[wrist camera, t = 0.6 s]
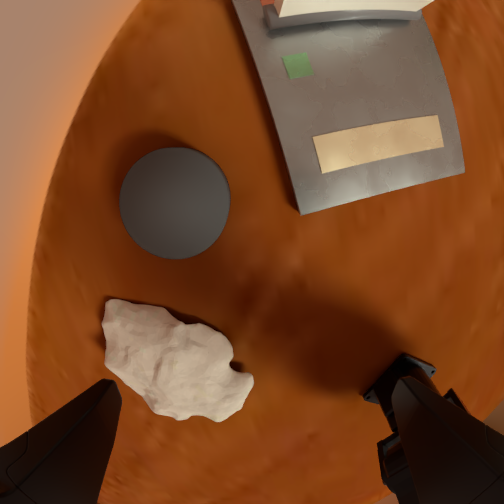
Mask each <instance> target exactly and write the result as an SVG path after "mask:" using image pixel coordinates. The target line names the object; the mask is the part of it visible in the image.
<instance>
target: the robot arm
mask: <svg viewBox="0 0 504 504" xmlns="http://www.w3.org/2000/svg"><path fill="white" fill-rule="evenodd" d="M435 372H436V368H435V367H434V366H432V365H430V364H427V363H425V362H423V361H421V360H418V359H416V358H414V357H412V356H410V355H407V354H402V355H401V356H399V358H398V359H397V360H396V361H395V362H394V363H393V364H392V365H391V367H390V368H389V369H388V370H387V371H386V372H385V373H384V374H383V375H382V376H381V377H380V378H379V379H378V380H377V382H376V383H375V384H374V385H373V386H372V387H371V388H370V389H369V390H368V391H367V392H366V393H365V394H364V395H363V398H364V400H365V401H368V402H372V403H376V404H380V406H381V409H382V411H383V413H384V415H385V416H386V418H387V421H388V423H389V425H390V428H391V430H392V432H394V433H393V434H392V435H390V436H389V437H387V438H385V439H384V440H381V441H379V442H378V443H377V447H378V457H379V463H380V470H381V477H382V482H383V484H384V485H386V486H387V487H388V488H389V489H390V490H391V491H392V492H393V493H395V494H396V496H397V499H398V501H399V504H504V435H502V434H500V433H499V432H497V431H495V430H494V429H492V428H490V427H489V426H487V425H485V424H484V423H483V422H481V421H479V420H478V419H476V418H475V417H473V416H472V415H471V414H470V412H469V411H468V409H467V408H466V406H465V405H464V403H463V402H462V401H461V399H460V398H459V397H458V395H457V394H456V393H455V392H454V390H453V389H452V388H451V389H450V390H448V391H447V393H446V394H445V395H444V396H443V397H442V396H441V394H440V393H439V391H438V390H437V388H436V387H435V385H434V384H433V382H432V380H431V379H430V378H431V377H432V376H433V375H434V373H435ZM121 406H122V397H121V394H120V392H119V389H118V387H117V384H116V382H115V381H114V380H110V379H101V380H100V381H98V382H97V383H96V384H94V385H93V386H91V387H90V388H88V389H87V390H86V391H84V392H83V393H81V394H80V395H78V396H77V397H76V398H74V399H73V400H71V401H70V402H68V403H67V404H66V405H64V406H63V407H61V408H60V409H58V410H57V411H55V412H54V413H53V414H51V415H50V416H48V417H47V418H45V419H44V420H42V421H41V422H39V423H38V424H37V425H35V426H34V427H32V428H31V429H29V430H28V431H26V432H25V433H23V434H22V435H20V436H19V437H17V438H16V439H14V440H13V441H11V442H9V443H8V444H6V445H4V446H2V447H0V504H97V500H98V496H99V493H100V489H101V485H102V482H103V478H104V475H105V471H106V468H107V465H108V461H109V458H110V455H111V451H112V448H113V445H114V441H115V436H116V431H117V426H118V421H119V416H120V411H121Z"/></svg>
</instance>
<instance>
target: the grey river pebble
mask: <svg viewBox="0 0 504 504" xmlns="http://www.w3.org/2000/svg"><path fill="white" fill-rule="evenodd" d="M119 207H120V214H121V218H122V221H123V224H124V226H125V228H126V230H127V232H128V233H129V235H130V236H131V237H132V239H133V240H134V241H135V242H136V243H137V244H138V245H139V246H140V247H142V248H143V249H144V250H146V251H148V252H149V253H151V254H153V255H156V256H159V257H162V258H167V259H184V258H189V257H192V256H195V255H197V254H199V253H201V252H203V251H204V250H206V249H207V248H209V247H210V246H211V245H212V244H213V243H214V242H215V241H216V240H217V238H218V237H219V235H220V234H221V232H222V230H223V228H224V226H225V223H226V220H227V217H228V213H229V208H230V189H229V184H228V181H227V179H226V176H225V175H224V173H223V171H222V169H221V168H220V167H219V165H218V164H217V163H216V162H215V161H214V160H213V159H211V158H210V157H209V156H207V155H206V154H204V153H202V152H200V151H197V150H194V149H191V148H184V147H175V148H163V149H159V150H155V151H153V152H151V153H148V154H147V155H145V156H143V157H142V158H140V159H139V160H138V161H137V162H136V163H135V164H134V165H133V166H132V167H131V169H130V170H129V171H128V173H127V175H126V177H125V179H124V181H123V184H122V186H121V191H120V198H119Z"/></svg>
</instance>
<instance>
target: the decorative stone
mask: <svg viewBox="0 0 504 504" xmlns="http://www.w3.org/2000/svg"><path fill="white" fill-rule="evenodd" d="M102 327H103V329H104V335H105V338H106V348H107V349H106V351H105V365H106V367H107V368H108V369H110V370H111V371H112V372H113V373H114V374H116V375H117V376H118V377H119V378H121V379H122V380H123V382H124V383H125V384H126V385H128V386H129V387H131V388H132V389H133V390H135V391H136V392H137V393H138V394H140V395H141V396H142V397H143V398H144V400H145V401H146V402H147V404H148V405H149V407H150V409H152V411H153V412H154V413H156V414H160V415H165V416H171V417H174V418H175V419H176V420H184V419H188V418H189V417H190V416H192V415H201V416H205V417H208V418H209V419H211V420H213V421H216V422H221V421H223V420H225V419H227V418H228V417H229V416H230V415H232V414H233V413H235V412H236V411H238V410H240V409H241V408H242V406H243V403H244V401H245V399H246V397H247V396H248V393H249V392H250V390H251V389H252V387H253V384H254V381H253V376H252V374H251V373H249V372H247V373H241V372H236V371H234V370H233V369H232V368H231V367H230V366H229V363H230V361H231V359H232V358H233V348H232V346H231V343H230V342H229V341H228V339H227V338H226V337H225V336H224V335H222V333H221V332H217V331H215V330H213V329H212V328H210V327H208V326H206V325H203V324H201V323H197V324H188V325H186V324H184V323H183V322H181V321H179V320H177V319H176V318H174V317H173V316H172V315H171V314H170V313H169V312H168V311H167V310H166V309H165V308H163V307H156V306H151V305H144V304H143V305H141V304H132V303H130V302H128V301H125V300H120V299H111V300H109V301H107V302H106V304H105V315H104V319H103V321H102Z"/></svg>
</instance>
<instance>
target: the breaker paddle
mask: <svg viewBox="0 0 504 504" xmlns="http://www.w3.org/2000/svg"><path fill="white" fill-rule="evenodd" d="M432 1H434V0H275V2H274V3H273V4H268V5H263V13H264V17H265V21H266V23H267V26H268V27H269V29H270V30H273V29H278V28H284V27H290V26H296V25H303V24H310V23H319V22H328V21H341V20H358V19H401V20H419V19H420V18H421V15H422V11H421V8H423V7H424V6H426V5H428V4H429V3H431V2H432Z"/></svg>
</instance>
